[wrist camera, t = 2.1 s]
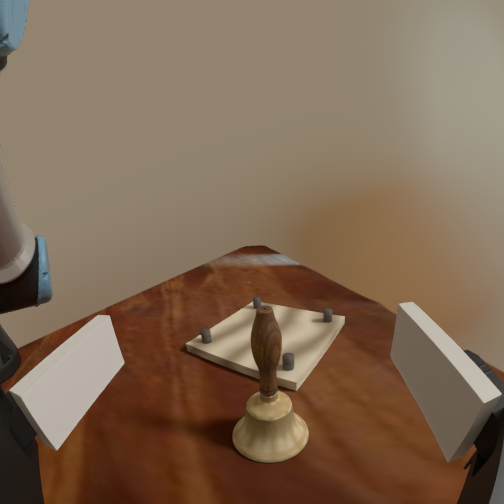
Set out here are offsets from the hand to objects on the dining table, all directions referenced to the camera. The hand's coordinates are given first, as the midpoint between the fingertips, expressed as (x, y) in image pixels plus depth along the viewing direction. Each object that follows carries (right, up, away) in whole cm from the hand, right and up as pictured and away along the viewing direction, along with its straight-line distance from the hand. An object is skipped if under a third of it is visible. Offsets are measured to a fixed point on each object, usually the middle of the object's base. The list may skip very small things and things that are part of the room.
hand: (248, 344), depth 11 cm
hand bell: (+2, -16, +14) cm, 21 cm away
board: (+3, -11, +34) cm, 36 cm away
